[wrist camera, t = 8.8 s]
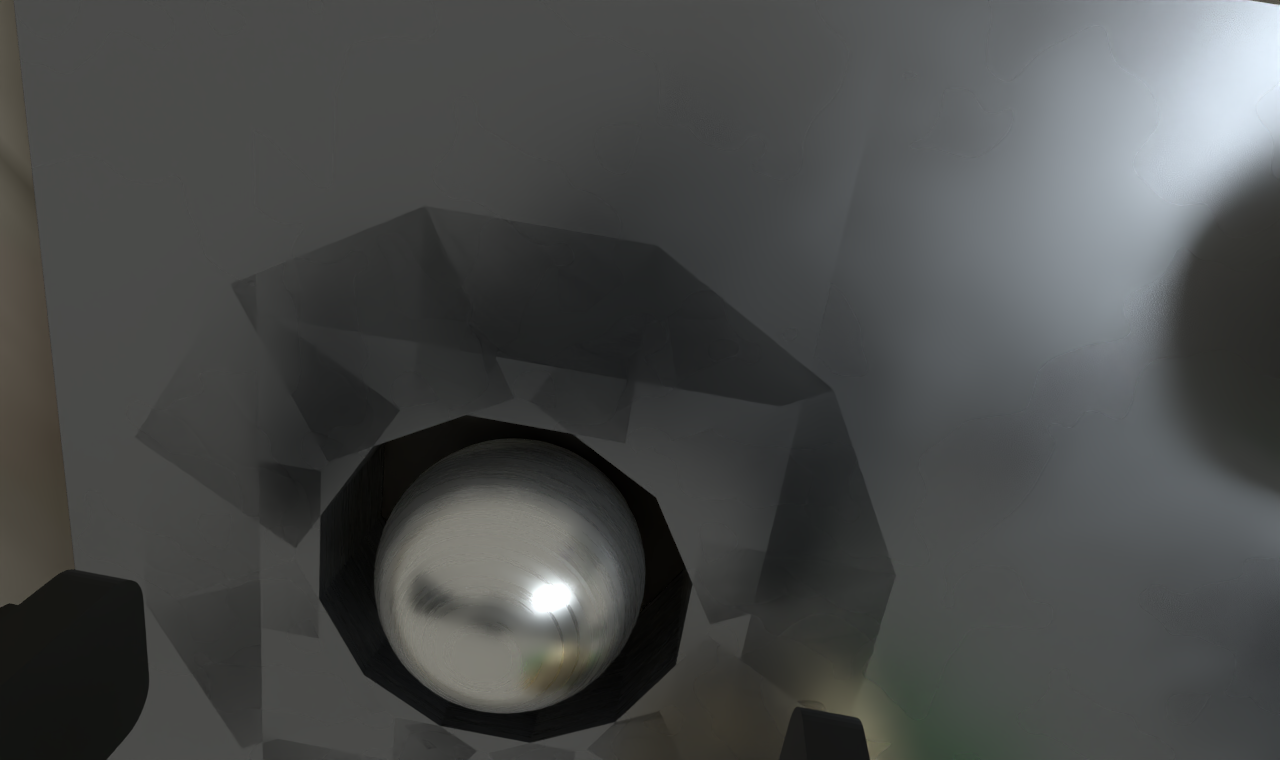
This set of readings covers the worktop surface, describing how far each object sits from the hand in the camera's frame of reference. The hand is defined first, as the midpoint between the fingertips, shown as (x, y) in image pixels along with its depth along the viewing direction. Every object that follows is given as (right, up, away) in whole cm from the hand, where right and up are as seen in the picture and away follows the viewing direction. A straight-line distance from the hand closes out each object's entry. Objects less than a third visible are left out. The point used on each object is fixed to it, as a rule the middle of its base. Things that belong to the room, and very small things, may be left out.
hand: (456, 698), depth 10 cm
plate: (+4, +1, +4) cm, 6 cm away
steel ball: (0, +1, +3) cm, 3 cm away
